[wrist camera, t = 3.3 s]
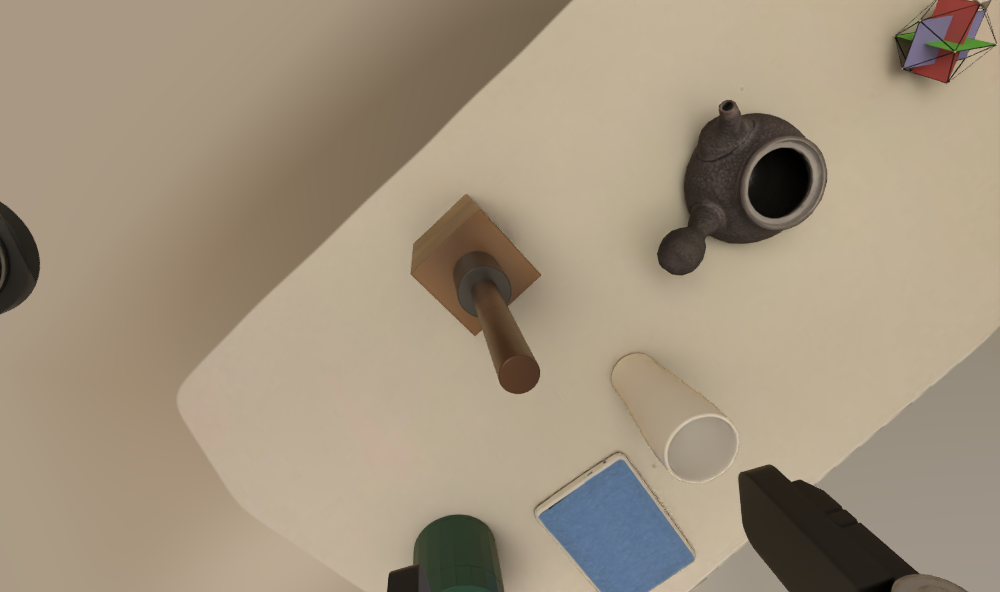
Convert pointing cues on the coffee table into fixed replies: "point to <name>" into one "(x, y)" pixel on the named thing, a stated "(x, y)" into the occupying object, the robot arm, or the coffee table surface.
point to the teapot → (744, 185)
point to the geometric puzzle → (945, 38)
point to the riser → (453, 240)
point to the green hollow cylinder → (459, 556)
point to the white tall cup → (676, 420)
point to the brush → (496, 319)
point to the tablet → (615, 529)
